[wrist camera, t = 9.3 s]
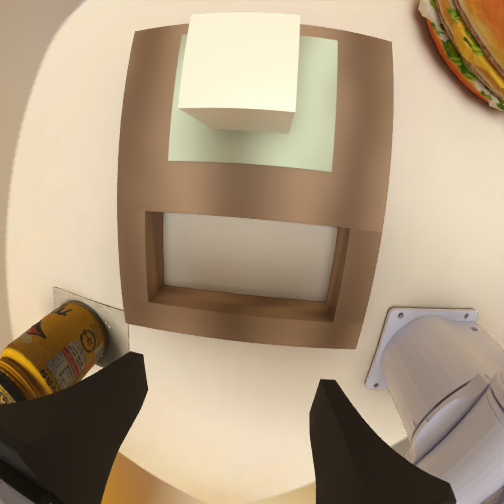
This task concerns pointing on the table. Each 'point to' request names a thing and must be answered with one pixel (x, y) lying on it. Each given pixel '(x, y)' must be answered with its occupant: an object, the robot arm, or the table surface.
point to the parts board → (257, 185)
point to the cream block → (241, 71)
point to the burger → (470, 43)
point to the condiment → (62, 348)
